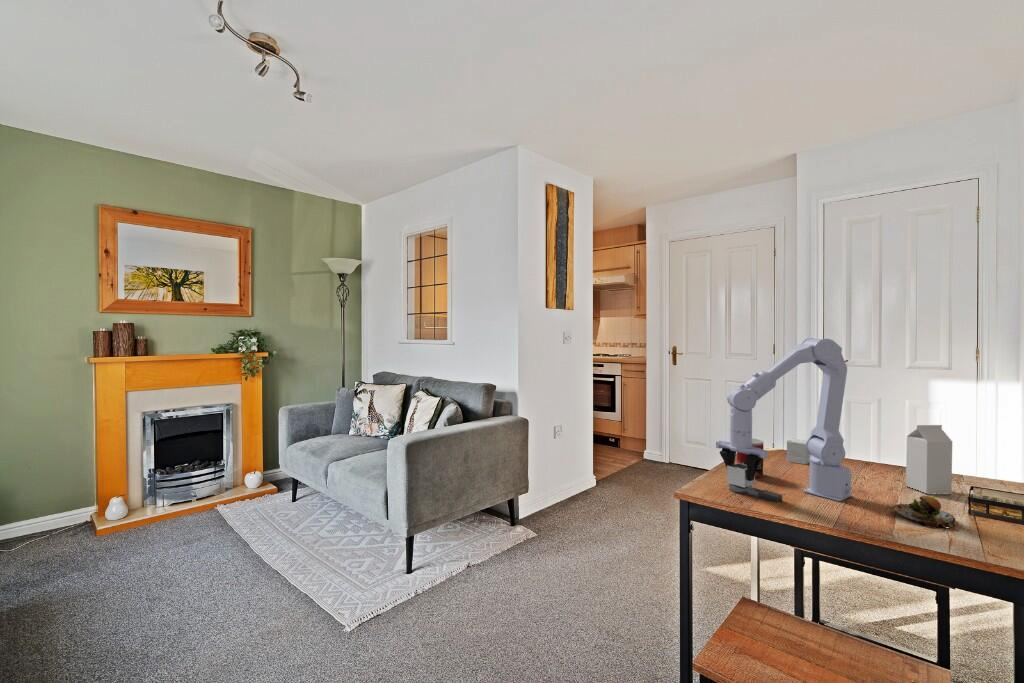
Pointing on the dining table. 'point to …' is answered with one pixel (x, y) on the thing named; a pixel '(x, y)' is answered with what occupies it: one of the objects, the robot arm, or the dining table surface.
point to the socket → (738, 475)
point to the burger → (926, 512)
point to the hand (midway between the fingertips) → (740, 477)
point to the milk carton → (929, 460)
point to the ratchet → (756, 493)
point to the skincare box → (797, 451)
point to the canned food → (742, 456)
